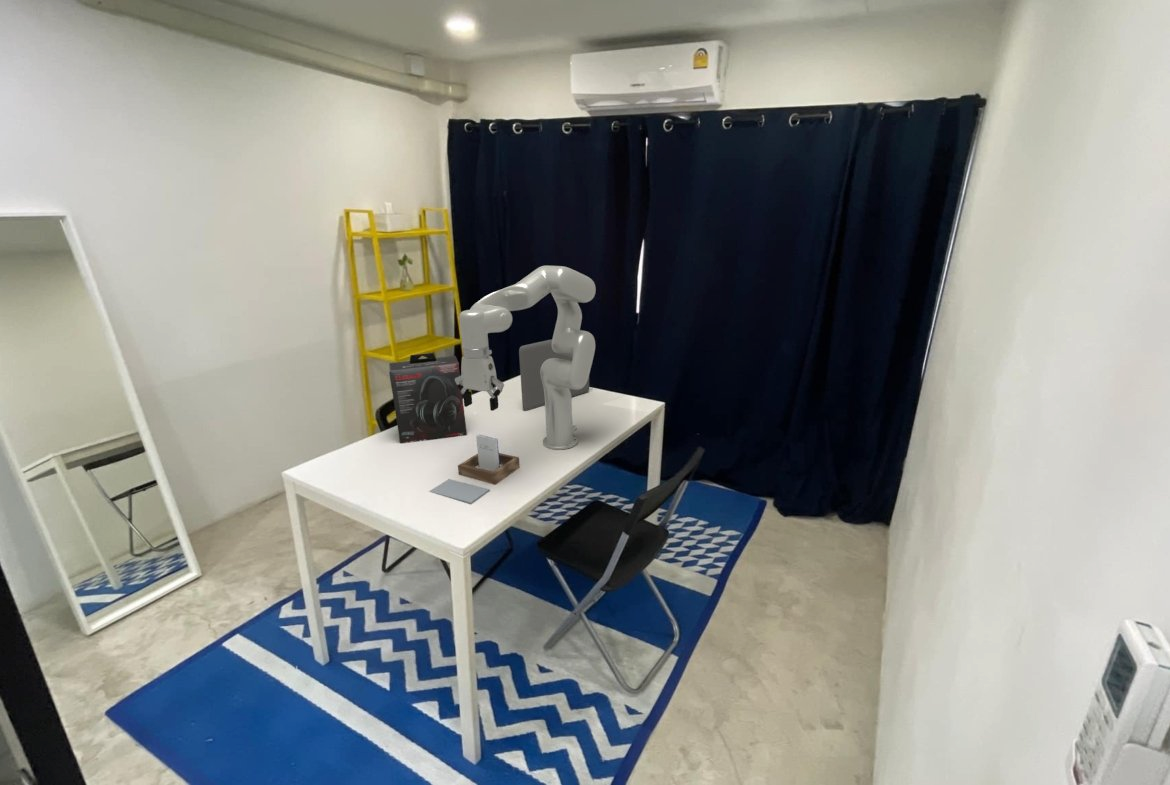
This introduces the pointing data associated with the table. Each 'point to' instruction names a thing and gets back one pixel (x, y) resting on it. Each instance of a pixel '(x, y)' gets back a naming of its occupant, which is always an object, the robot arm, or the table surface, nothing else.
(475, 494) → the mat
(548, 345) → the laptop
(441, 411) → the headset box
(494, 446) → the hard drive
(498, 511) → the table surface
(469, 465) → the wooden square frame
